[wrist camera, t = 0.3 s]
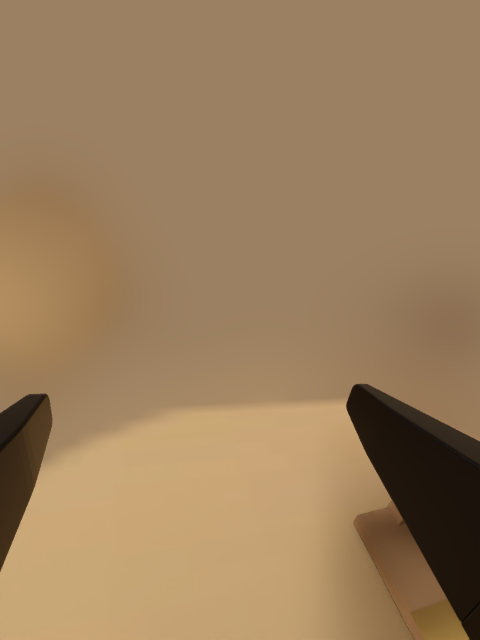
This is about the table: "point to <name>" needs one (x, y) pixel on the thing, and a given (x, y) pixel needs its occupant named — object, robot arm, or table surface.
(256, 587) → the table surface
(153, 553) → the table surface
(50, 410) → the robot arm
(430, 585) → the stand
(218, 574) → the table surface
